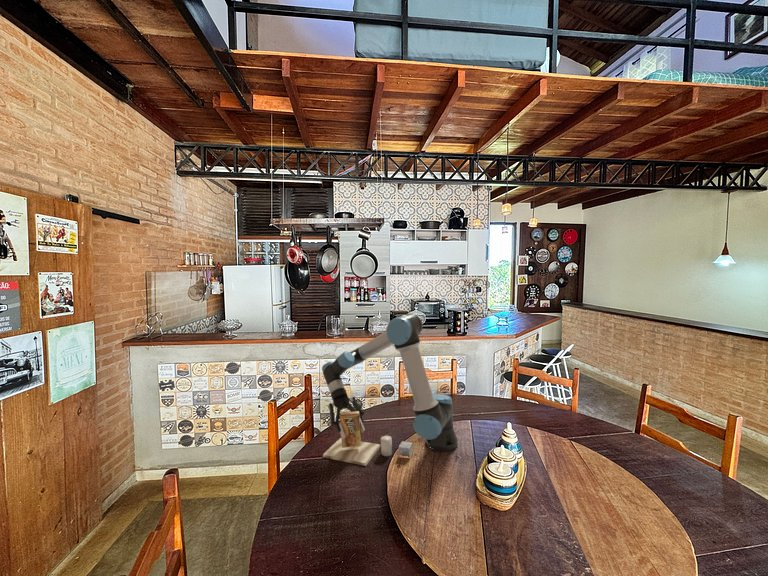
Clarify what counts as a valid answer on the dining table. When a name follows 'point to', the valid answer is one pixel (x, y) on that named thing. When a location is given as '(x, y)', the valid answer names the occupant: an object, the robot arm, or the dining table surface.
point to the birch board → (352, 452)
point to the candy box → (351, 429)
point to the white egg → (386, 445)
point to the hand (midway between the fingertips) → (353, 434)
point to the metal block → (405, 448)
